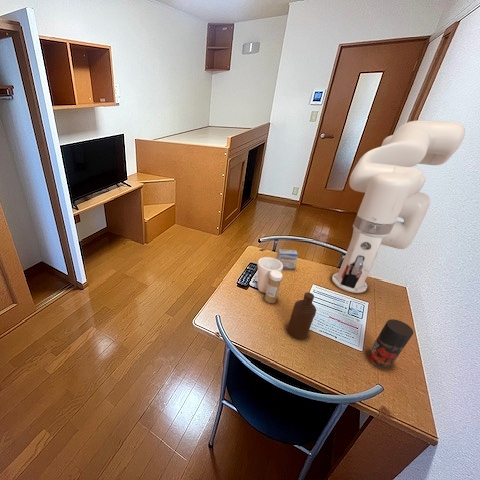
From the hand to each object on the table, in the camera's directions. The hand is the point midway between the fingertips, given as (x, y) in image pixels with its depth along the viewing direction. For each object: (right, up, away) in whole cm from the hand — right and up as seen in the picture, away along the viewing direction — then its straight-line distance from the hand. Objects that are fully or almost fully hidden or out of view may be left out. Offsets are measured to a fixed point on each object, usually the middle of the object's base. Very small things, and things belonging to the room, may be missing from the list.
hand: (348, 281), depth 73 cm
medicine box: (+6, -1, +51) cm, 51 cm away
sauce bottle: (-5, -21, +18) cm, 28 cm away
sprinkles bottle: (-9, -13, +32) cm, 36 cm away
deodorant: (+15, -26, +8) cm, 32 cm away
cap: (0, +1, 0) cm, 1 cm away
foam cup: (-8, -9, +38) cm, 40 cm away
